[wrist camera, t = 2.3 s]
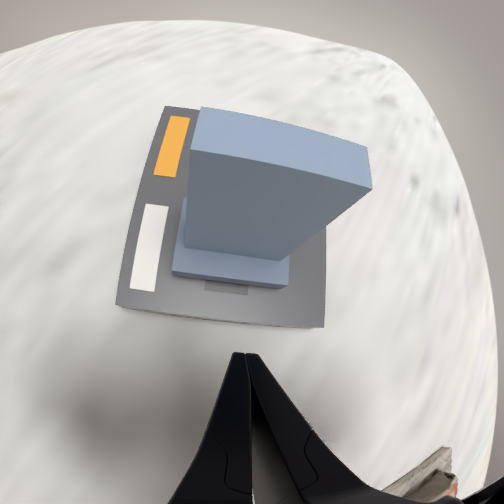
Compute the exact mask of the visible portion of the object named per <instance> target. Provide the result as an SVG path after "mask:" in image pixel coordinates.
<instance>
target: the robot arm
mask: <svg viewBox="0 0 504 504" xmlns="http://www.w3.org/2000/svg"><path fill="white" fill-rule="evenodd" d="M252 488H253V494H254V499H255V504H504V475H502V476H501V477H500V478H498V479H496V480H495V481H493V482H492V483H490V484H488V485H487V486H485V487H483V488H482V489H480V490H478V491H477V492H475V493H473V494H471V495H470V496H468V497H466V498H464V499H462V500H460V499H458V498H456V497H454V496H451V495H448V494H447V495H445V496H443V497H441V498H439V499H437V500H435V501H433V502H429V503H427V502H418V501H414V500H410V499H406V498H403V497H399V496H396V495H393V494H389V493H386V492H383V491H380V490H377V489H374V488H372V487H370V486H369V485H367V484H366V483H364V482H363V481H362V480H360V479H359V478H358V477H357V476H356V475H355V474H354V473H353V472H352V471H351V470H350V469H349V468H348V467H346V466H345V465H344V464H343V463H342V462H341V461H340V460H339V459H338V458H337V457H336V456H335V455H334V454H333V453H332V452H331V451H330V450H329V449H328V447H327V446H326V445H325V444H324V443H323V441H322V440H321V439H320V438H319V437H318V435H317V434H316V433H315V431H314V430H312V428H311V426H310V425H309V424H308V422H307V421H306V420H305V418H304V417H303V416H302V414H301V413H300V412H299V410H298V409H297V408H296V406H295V405H294V404H293V402H292V401H291V400H290V398H289V397H288V396H287V394H286V393H285V392H284V390H283V389H282V387H281V386H280V385H279V383H278V382H277V381H276V379H275V378H274V376H273V375H272V374H271V372H270V371H269V369H268V368H267V366H266V365H265V364H264V362H263V361H262V359H261V358H260V357H259V355H258V354H253V353H246V354H244V353H239V352H234V353H233V354H232V357H231V359H230V362H229V365H228V368H227V371H226V374H225V377H224V380H223V383H222V385H221V388H220V391H219V394H218V397H217V400H216V403H215V405H214V408H213V411H212V414H211V417H210V420H209V422H208V425H207V428H206V431H205V433H204V436H203V439H202V441H201V444H200V446H199V449H198V451H197V454H196V456H195V457H194V459H193V461H192V463H191V465H190V467H189V469H188V470H187V472H186V474H185V476H184V477H183V479H182V481H181V482H180V484H179V486H178V487H177V489H176V491H175V492H174V494H173V496H172V497H171V499H170V501H169V502H168V504H253V502H252Z"/></svg>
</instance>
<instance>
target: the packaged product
mask: <svg viewBox="0 0 504 504" xmlns="http://www.w3.org/2000/svg"><path fill="white" fill-rule="evenodd" d="M451 453H452V448H451V447H442V448H441V449H439V450H438V451H437V452H436V453H434V454H433V455H432V456H431V457H429V458H428V459H427V460H426V461H424V462H423V463H422V464H420V465H419V466H418V467H416V468H415V469H414V470H412V471H411V472H409V473H408V474H407V475H405V476H404V477H402V478H401V479H400V480H398V481H397V482H395V483H394V484H392V485H391V486H389V487H388V488H386V489H384V490H383V492H386V493H389V494H393V495H396V496H399V497H403V498H406V499H410V500H414V501H418V502H427V503H429V502H433V501H435V500H437V499H439V498H441V497H443V496H445V495H447V494H448V495H451V496H454V497H456V494H457V486H458V483H457V481H458V479H457V477H456V476H455V475H454V474H452V473H451V462H452V460H451Z"/></svg>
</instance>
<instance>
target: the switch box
mask: <svg viewBox="0 0 504 504" xmlns="http://www.w3.org/2000/svg"><path fill="white" fill-rule="evenodd" d="M199 113H200V110H195V109H188V108H180V107H171V106H165V107H164V110H163V113H162V115H161V118H160V121H159V124H158V127H157V130H156V133H155V136H154V139H153V142H152V145H151V148H150V151H149V154H148V158H147V161H146V164H145V168H144V171H143V175H142V178H141V182H140V185H139V189H138V193H137V197H136V201H135V205H134V209H133V213H132V217H131V222H130V226H129V230H128V235H127V240H126V245H125V250H124V255H123V260H122V266H121V271H120V277H119V283H118V290H117V296H116V303H115V304H116V305H118V306H121V307H123V308H129V309H135V310H141V311H147V312H154V313H160V314H167V315H174V316H182V317H189V318H197V319H206V320H214V321H223V322H233V323H243V324H254V325H266V326H279V327H294V328H323V327H324V316H325V289H326V226H325V227H324V228H323V229H321V230H320V231H319V232H318V233H316V234H315V235H314V236H312V237H311V238H310V239H309V240H307V241H306V242H305V243H303V244H302V245H301V246H299V247H298V248H297V249H296V250H294V251H293V252H292V253H290V258H289V279H288V286H286V287H284V288H282V289H278V288H269V287H261V286H252V285H244V284H236V283H228V282H220V281H212V280H205V279H197V278H190V277H183V276H176V275H173V274H172V265H173V258H174V252H175V246H176V240H177V234H178V228H179V222H180V216H181V211H182V206H183V200H184V198H187V189H188V173H189V159H190V148H191V144H192V140H193V136H194V132H195V128H196V124H197V120H198V116H199Z"/></svg>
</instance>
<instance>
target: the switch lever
mask: <svg viewBox="0 0 504 504" xmlns="http://www.w3.org/2000/svg"><path fill="white" fill-rule="evenodd" d="M372 189H373V188H372V179H371V172H370V165H369V158H368V152H367V147H365V146H362V145H359V144H356V143H353V142H350V141H347V140H344V139H341V138H338V137H334V136H331V135H328V134H324V133H321V132H317V131H314V130H310V129H307V128H303V127H299V126H295V125H291V124H288V123H283V122H279V121H275V120H271V119H266V118H262V117H257V116H252V115H247V114H242V113H237V112H232V111H226V110H220V109H214V108H208V107H201V109H200V113H199V116H198V120H197V124H196V128H195V132H194V136H193V140H192V144H191V148H190V159H189V173H188V189H187V198H184V200H183V206H182V211H181V216H180V222H179V228H178V234H177V240H176V246H175V252H174V258H173V265H172V274H173V275H176V276H183V277H190V278H197V279H205V280H212V281H220V282H228V283H236V284H244V285H252V286H261V287H269V288H278V289H282V288H284V287H286V286H288V279H289V258H290V253H292V252H293V251H294V250H296V249H297V248H298V247H299V246H301V245H302V244H303V243H305V242H306V241H307V240H309V239H310V238H311V237H312V236H314V235H315V234H316V233H318V232H319V231H320V230H321V229H323V228H324V227H325V226H327V225H328V224H329V223H330V222H332V221H333V220H334V219H336V218H337V217H338V216H339V215H341V214H342V213H343V212H344V211H346V210H347V209H348V208H349V207H351V206H352V205H353V204H355V203H356V202H357V201H358V200H360V199H361V198H362V197H363V196H365V195H366V194H367V193H368V192H370V191H371V190H372Z"/></svg>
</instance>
